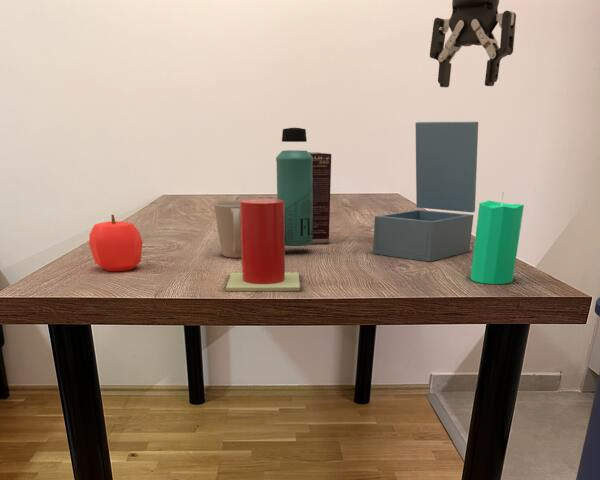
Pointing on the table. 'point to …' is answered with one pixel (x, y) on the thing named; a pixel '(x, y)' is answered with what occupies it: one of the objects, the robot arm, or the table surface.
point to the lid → (446, 165)
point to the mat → (287, 285)
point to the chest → (422, 234)
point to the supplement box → (321, 196)
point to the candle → (496, 242)
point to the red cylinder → (262, 240)
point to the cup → (229, 228)
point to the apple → (115, 245)
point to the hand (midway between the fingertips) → (466, 86)
